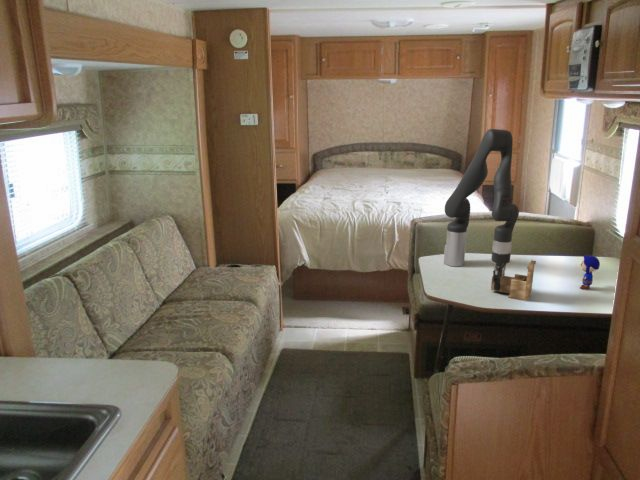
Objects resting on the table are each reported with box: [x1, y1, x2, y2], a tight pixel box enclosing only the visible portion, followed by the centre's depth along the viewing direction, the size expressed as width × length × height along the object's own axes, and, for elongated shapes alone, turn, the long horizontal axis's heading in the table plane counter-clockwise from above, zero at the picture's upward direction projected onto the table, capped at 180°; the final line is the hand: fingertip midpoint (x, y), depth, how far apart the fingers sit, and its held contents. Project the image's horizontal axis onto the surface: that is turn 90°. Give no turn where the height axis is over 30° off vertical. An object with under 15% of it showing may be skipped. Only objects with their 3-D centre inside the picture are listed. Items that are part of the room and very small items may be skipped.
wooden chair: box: [507, 259, 537, 302], centre depth 228 cm, size 8×9×15 cm
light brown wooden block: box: [490, 275, 525, 294], centre depth 232 cm, size 13×4×7 cm, turn 60°
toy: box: [579, 254, 601, 291], centre depth 236 cm, size 13×8×15 cm, turn 142°
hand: (497, 288), depth 235 cm, fingers closed on light brown wooden block, 4 cm apart
